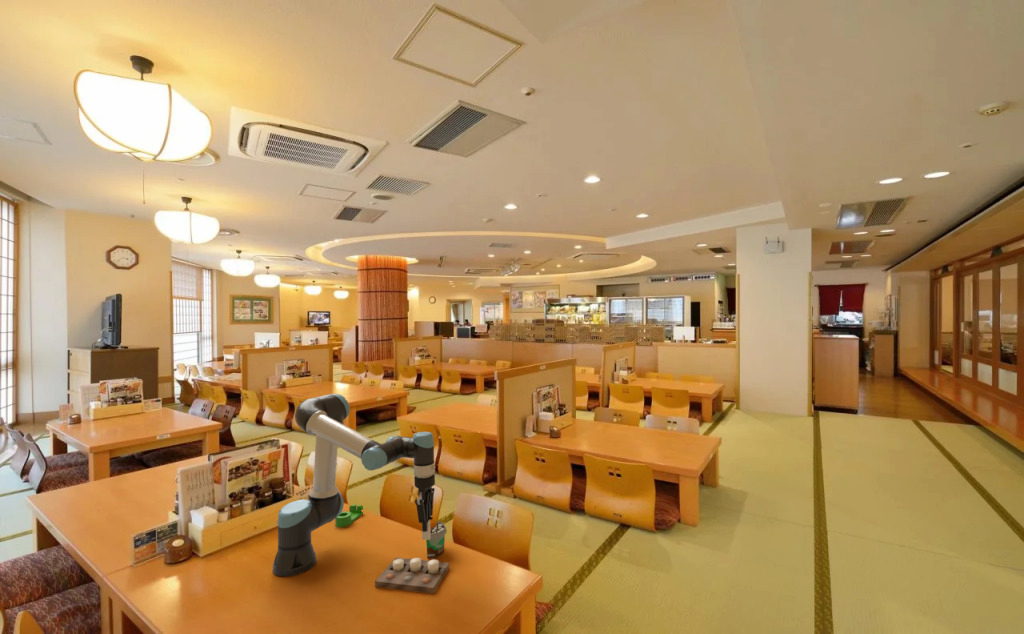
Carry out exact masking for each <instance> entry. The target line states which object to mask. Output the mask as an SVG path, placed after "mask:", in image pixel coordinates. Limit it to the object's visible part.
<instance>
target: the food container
mask: <svg viewBox="0 0 1024 634" xmlns="http://www.w3.org/2000/svg"><path fill="white" fill-rule="evenodd" d="M447 532H448V531H447V527H446V524H444V523H443V522H441V521H436V524H435V526H433V527H432V528H431V529H430V533H431V538H430V539H429V540H425V541H426V558H427V559H435V558H439V557H441V556H442V555H443V554H444V552H445V540H446V534H447Z"/></svg>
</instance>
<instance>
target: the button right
mask: <svg viewBox="0 0 1024 634" xmlns="http://www.w3.org/2000/svg"><path fill="white" fill-rule="evenodd" d="M428 561H429V562H428V574H431V575H438V572H439V562H440V561H439V560H438V559H431V560H428Z"/></svg>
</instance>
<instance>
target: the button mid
mask: <svg viewBox="0 0 1024 634" xmlns="http://www.w3.org/2000/svg"><path fill="white" fill-rule="evenodd" d="M410 559H411V560H410V572H413V573H420V571H421V560H422V558H420V557H414V558H410Z"/></svg>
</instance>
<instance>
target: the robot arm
mask: <svg viewBox="0 0 1024 634" xmlns="http://www.w3.org/2000/svg"><path fill="white" fill-rule="evenodd" d="M350 410H351V409H350V404H349V402H348V400H347V399H346V397H345V396H344V395H342V394H340V393H329V394H326V395H321V396H315V397H311V398H307V399H304V400H303V401H301V402H300V403H299V404H298V405H297V407H296V409H295V412H294V420H295V423H296V425H297V426H298V427H299V428H300V429H301V430H302V431H303V432H305V433H306V434H308V435H315V436H316V437H315V448H314V463H313V464H314V465H313V478H312V479H313V481H312V488H311V489H309V491H308V494H307V495H308V497H307V499H297V500H296V501H295V500H293V501H291V502H289V503H287V504H284V505H283V506H282V507H281V508H280V510H279V512H278V514H277V521H276V525H277V550H276V554H275V556H274V560H273V563H272V573H273V574H274V575H275V576H277V577H283V578H284V577H294V576H297V575H301V574H303V573H305V572H308V571H309V570H311V569H312V568H313V567H314V566H315V565H316V563H317V554H316V551H315V550H314V547H313V544H312V532H313V531H315V530H317V529H319V528H321V527H323V526H324V525H326V524H328V523H331V522H332V521H335V518H337V517H338V516H339V515H340V514H341V512H343V510H344V505H345V504H344V498H343V497H342V496H343V495H342V493H341V492H340V491H339V488H338V487H337V486H336V479H337V463H338V459H337V458H338V447H339V448H340V449H342V450H343V451H345V452H348V453H349V454H351V455H353V456H355V457H357V458H359V459H360V461H361V464H362V466H363V467H364V468H365V469H366V470H367V471H376V470H379V469H382V468H383V467H384V466H385V467H386V466H387V465H389V464H391V463H394V462H396V461H398V460H400V459H404V458H405V459H413V475H414V478H413V479H414V487H415V488H417V489H418V493H417V496H418V498H417V499H415V501H414V503H415V505H416V512H417V519H418V523H419V524H420V523H421V538H422V539H421V540H423V541H424V540H425V541H426V540H429V539H430V538H431V533H430V531H431V521H432V520H433V518H434V517H432V516H433V513H434V497H435V496H434V494H435V488H434V487H433V486H435V485H436V476H435V469H436V466H435V442H434V439H435V438H434V434H433V433H432V432H430V431H419V432H416V433H414V434H413V436H412V437H411V436H401V435H395V436H394V435H392V436H389V437H388V438H387V439H386V441H385V442H384V443H379V442H378V441H376V440H374V439H372V438H370V437H368V436H366V435H364V434H363V433H360V432H359V431H357V430H355V429H353V428H351V427H349V426H347V425H345V424H344V420H346V419H347V417H349V415H350Z"/></svg>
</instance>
